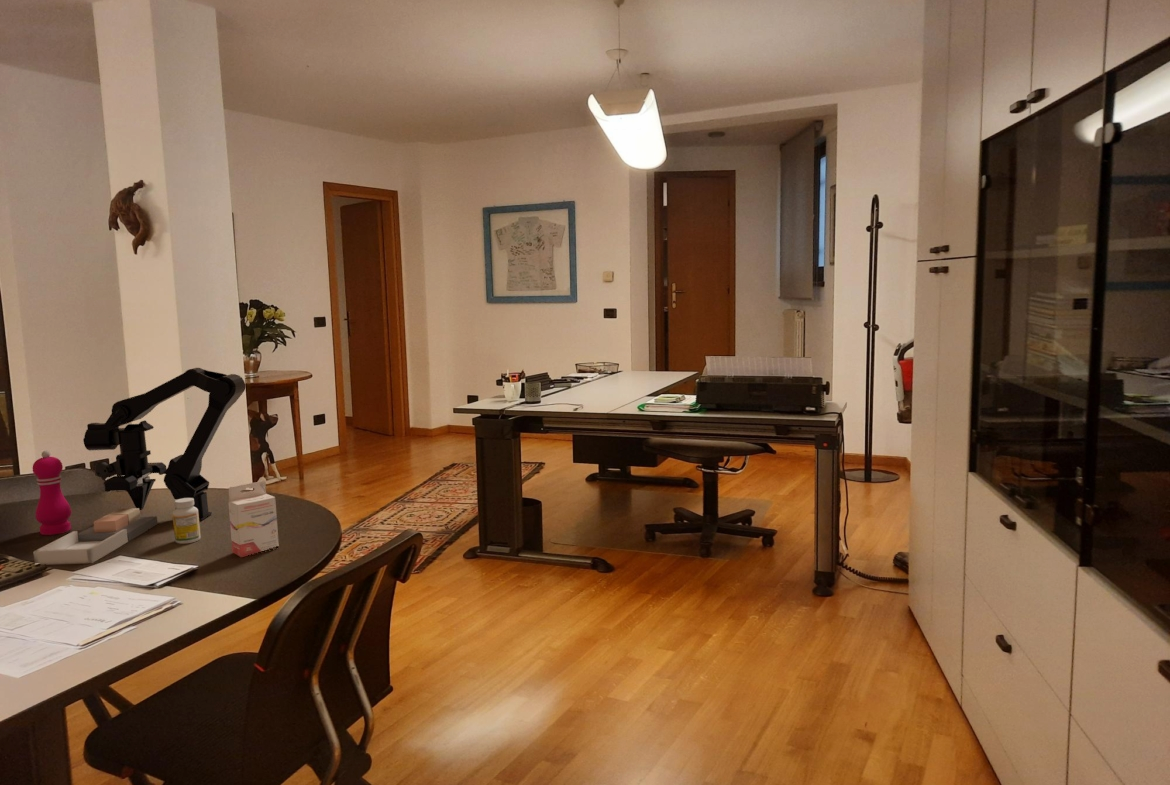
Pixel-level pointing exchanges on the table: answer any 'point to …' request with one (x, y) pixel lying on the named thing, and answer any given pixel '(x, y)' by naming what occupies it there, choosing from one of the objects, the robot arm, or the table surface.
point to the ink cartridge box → (252, 519)
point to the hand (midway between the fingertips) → (140, 509)
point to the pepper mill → (51, 496)
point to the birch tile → (128, 514)
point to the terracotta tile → (110, 523)
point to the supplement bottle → (186, 521)
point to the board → (132, 530)
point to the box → (78, 549)
